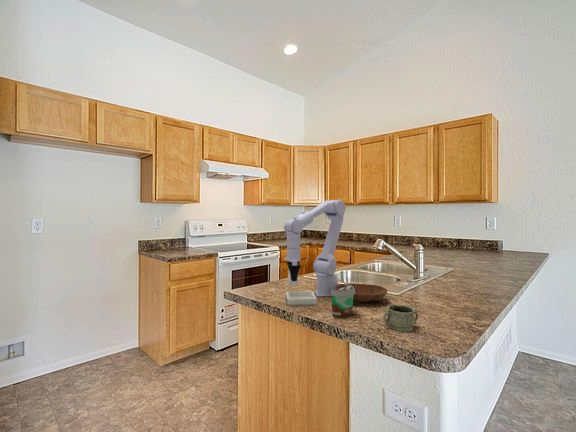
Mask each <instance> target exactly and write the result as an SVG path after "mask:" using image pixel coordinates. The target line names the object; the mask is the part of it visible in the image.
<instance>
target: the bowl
mask: <svg viewBox="0 0 576 432" xmlns="http://www.w3.org/2000/svg"><path fill="white" fill-rule="evenodd" d="M345 284H346V283H343V284H338V286H336V287H335V289H336V290H337V289H338V288H340V287H344V286H345ZM349 284H350V285H352V286H354V289H355V294H354V295H353V302H360V303H371V302H375V301H379V300H381V299H383V298H384V297H385V296H386V295H387V294H388V289H387V288H385V287H383V286H381V285H376V284H369V283H349Z"/></svg>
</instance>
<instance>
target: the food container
mask: <svg viewBox="0 0 576 432" xmlns="http://www.w3.org/2000/svg"><path fill="white" fill-rule="evenodd" d="M344 284H345V286H344V287H340V288H338V289H337V290H332V289H331V296H330V297H331V309H332V310H331V311H332V313H331V314H332V317H335V318H348V317H351V316H352V315H353V305H354V301H353V295H354V294H355V289H354V286H352V285H350V284H351V283H344Z"/></svg>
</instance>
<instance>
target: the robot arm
mask: <svg viewBox="0 0 576 432" xmlns="http://www.w3.org/2000/svg"><path fill="white" fill-rule="evenodd" d="M346 207H347V206H346V205H345V203H344V201H343V200H342V199H332V200H330V199H329V200H327V199H326V200H324V201H321V202H320V204H319V205H317V206H315V207H314V208H312V209H311V210H309V211H308V210H303V211H301V213H300V214H297V216H296V215H295V216H293V219H287V221H286V222H285V223H284V226H283V229H284V231H285V235H286V257H284V258H283V260H284V261H287V262H286V264H287V267H288V268H289V270H290V275H291V280H292V281H297V277H298V278H299V272H300V269H301V266H302V265H301V264H300V261H301V233H302V232H303V230H304V228H306V227H307V226H308V225H310V224H312V223H314V219H315V218H317V217H319V216H320V215H322V214H323V213H324V214H325V215H326V217H327V219H329V221H330V223H329V226H328V229H327V234H326V236H325V237H326V238H325V241H324V244H323V248H322V251H321V252H320V254H318V255H317V257H316V259H315V260H314V261H313V264H312V269H313V271H314V272H315V275H316V290H315V291H314V294H315V296H316V297H332V296H331V289H332V290H336V289H335V287H336V286H338V285H339V282H338V275H336V274H335V273H336V271H337V262H338V260H337V259H336V258H335V256H334V255H335V252H336V249H337V245H338V241H339V237H340V235H341V231H342V227H343V223H344V216H345V212H346ZM288 268H287V269H288Z"/></svg>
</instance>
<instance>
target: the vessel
mask: <svg viewBox="0 0 576 432" xmlns="http://www.w3.org/2000/svg"><path fill="white" fill-rule="evenodd" d="M418 319H419V313H418V312H417V310H415V307H413V306H410V305H406V304H398V303H397V304H396V303H395V304H389V305H388V306H387V311H385V312H384V313H383V320H384V322H385V326H387V327H389V326H390V327H389V328H391V329H393V330H394V331H399V332H411V331H413V330H414V327H413V325H417V321H418Z"/></svg>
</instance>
